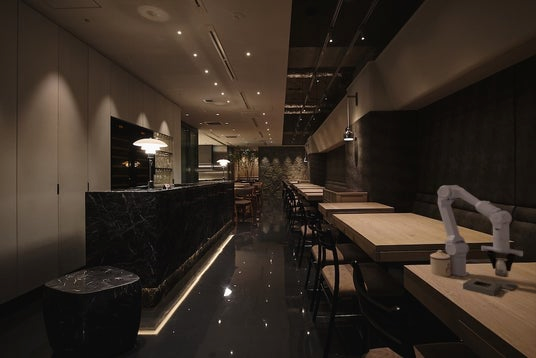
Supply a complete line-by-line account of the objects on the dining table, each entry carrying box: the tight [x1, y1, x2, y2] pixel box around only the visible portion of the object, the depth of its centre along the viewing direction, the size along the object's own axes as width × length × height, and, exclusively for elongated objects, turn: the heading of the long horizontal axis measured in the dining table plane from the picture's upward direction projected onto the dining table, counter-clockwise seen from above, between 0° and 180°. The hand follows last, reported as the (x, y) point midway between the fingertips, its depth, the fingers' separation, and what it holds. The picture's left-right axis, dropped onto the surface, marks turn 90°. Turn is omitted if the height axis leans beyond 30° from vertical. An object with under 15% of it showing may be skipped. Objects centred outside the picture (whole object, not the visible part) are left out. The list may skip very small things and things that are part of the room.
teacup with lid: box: [429, 249, 452, 277], centre depth 151 cm, size 12×9×12 cm
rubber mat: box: [489, 279, 518, 292], centre depth 132 cm, size 9×9×1 cm
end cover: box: [494, 257, 509, 278], centre depth 132 cm, size 5×5×7 cm
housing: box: [462, 277, 503, 297], centre depth 128 cm, size 11×11×2 cm
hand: (501, 269), depth 132 cm, fingers closed on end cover, 5 cm apart
